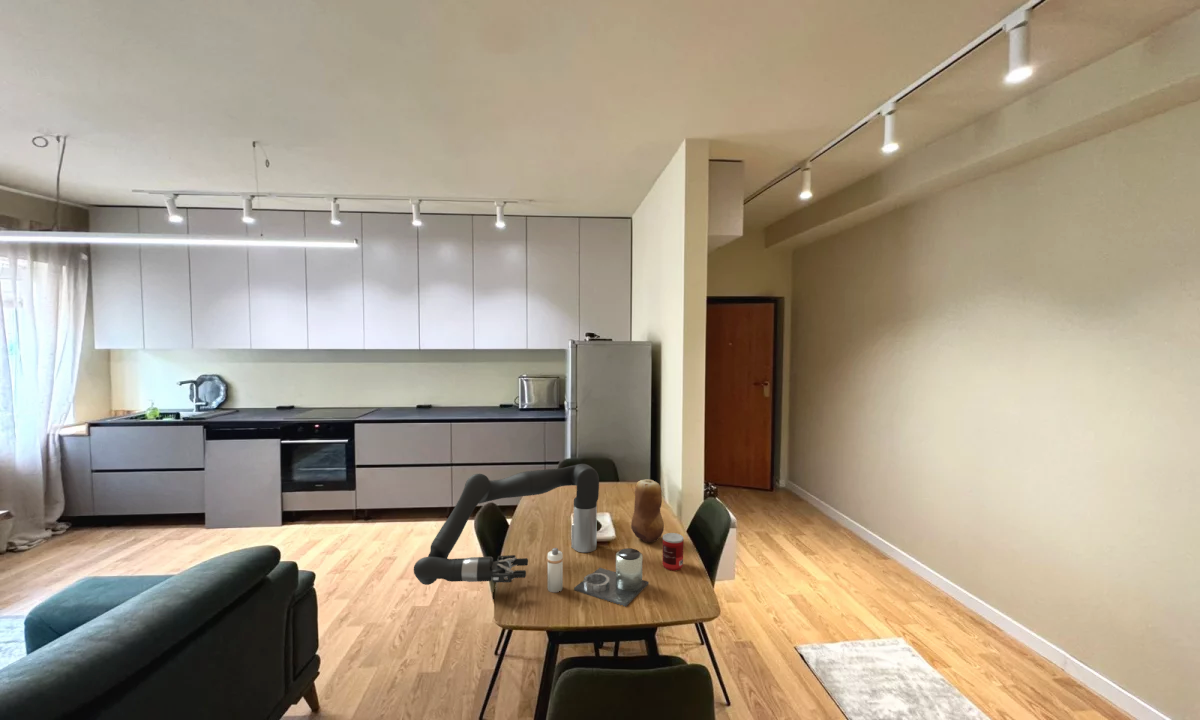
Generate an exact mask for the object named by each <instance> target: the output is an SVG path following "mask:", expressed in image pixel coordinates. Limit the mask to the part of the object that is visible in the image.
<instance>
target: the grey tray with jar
mask: <svg viewBox="0 0 1200 720" xmlns="http://www.w3.org/2000/svg"><path fill="white" fill-rule="evenodd" d="M643 558H644V557H643V553H641V552H640V551H639V549H635V548H622V549H620V550H618V551H617V552H616V553H615V571H614V570H609V569H606V568H602V567H598V568H597V569H596V570H595V571H593V572H592V573H589V574H586V576H584V577H583V580H582V581H581V582H579V583H578V584H577V585H575V586H574V587H573V590H574V591H577V592H579V593H582V594H584V595H587V596H591V597H594V598H597V599H600V600H603V599H604V601H606V600H607V601H606V602H609V601H610V602H609V603H612V602H613V603H612V604H615V603H616V605H618V604H620V605H619V606H621V605H623V606H622V607H624V606H625V608H626V607H627V606H628V605H629V604H630V603H631V602H632V601H633V600H634V599H635V598H637V596H638V595H639V594H640V593H641V592H642V591H643V590H644V589H646V587H647V586H648V585H649V583H650V582H649V581H648V580H644V579H643Z"/></svg>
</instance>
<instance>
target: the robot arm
mask: <svg viewBox="0 0 1200 720" xmlns="http://www.w3.org/2000/svg"><path fill="white" fill-rule="evenodd" d="M599 477H600V476H599V474H598V472H597V470H596V469H595V468H593V467H592V466H591V465H589V464H586V463H577V464H574V465H570V466H566V467H560V468H545V469H537V470H536V469H535V470H526V471H522V472H519V473H516V474H512V475H510V476H507V477H505V478H500V479H492V480H490V479H489V477H488V476H487V475H485V474H483V473H475V474H473V475H470V476H469V478H467V480H466V481H465V483H464V487H463V490H462V493H461V495H460V497H459V499H458V501H457V503H456V504H455V506H454V508H453V510H452V511H451V513H450V514H449V516H448V517H447V519H446V520H445V522H444V523H443V525H442V526H441V528H440V529H439V531H438V532H437V534H436V536H435V537H434V538H433V540H432V542H431V544H430V551H429V554H428V556H424V557H422V558H420V559H418V560H417V561H416V562H415V564H414V567H413V574H414V576H415V577H416V579H417V580H418V581H419V582H420V583H421V584H422V585H424V586H425V585H426V586H428V585H432V584H434V583H435V582H436V581H437V580H445V581H447V582H455V583H456V582H466V583H467V582H468V583H472V582H473V583H476V582H477V583H479V582H482V583H483V582H491V581H492V583H511V582H512V581H513V580H514V579H525V578H526V577H527V571H526V570H525V569H522V570H519V569H518V570H513V569H512V568H513V567H517V566H518V567H520V566H525V567H526V566H528V564H529V559H528V557H526V558H525V557H524V558H523V557H522V558H520V557H519V558H517V557H516V555H515V554H512V555H511V554H509V555H508V554H507V555H498V556H497V560H494V557H492V556H478V557H477V556H472V557H466V558H449V555H450V553H451V552H452V550H454V549H453V548H454V547H455V545H456V544H457V542H458V540H459V539H460V537H461V535H462V534H463V531H464V529H465V526H466V525H467V523H468V520H469V519H470V517H471V515H472V514H473V512H474V510H475V508H476V507H477V506H478V505H480V504H482V503H487V502H491V501H495V500H500V499H510V498H519V497H520V498H521V497H529V496H530V497H531V496H537V495H542V494H546V493H548V492H551V491H553V490H555V489H557V488H560V487H568V486H576V495H575V497H574V499H573V522H572V524H571V532H570V533H571V537H570V538H571V548H572V549H573V550H574V551H576V552H579V553H590V552H594V551H595V550H596V549H597V531H598V530H597V523H598V522H597V519H598V517H597V516H598V515H597V514H598V512H597V511H598V510H597V509H598V505H597V504H598V500H599V496H600V495H599V493H600V491H599V490H600V478H599Z"/></svg>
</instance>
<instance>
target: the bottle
mask: <svg viewBox="0 0 1200 720" xmlns="http://www.w3.org/2000/svg"><path fill="white" fill-rule="evenodd" d="M546 561H547V591H548V592H550V593H559V591H560V592H561V591H562V590H563V588H564V587H563V586H564V585H563V580H564V579H563V575H564V574H563V568H564V567H563V565H564V564H563V561H564V557H563V552H562V551H561V550H559V549H558V548H557V547H554V548H552V549H551V550H550V551H548V552H547V558H546Z"/></svg>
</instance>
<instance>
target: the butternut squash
mask: <svg viewBox="0 0 1200 720" xmlns="http://www.w3.org/2000/svg"><path fill="white" fill-rule="evenodd" d="M662 494H663V492H662V487H661V485H660V483H658V482H657V481H656V480H655V481H654V480H653V479H648V478H647V479H641V480H639V481H637V482H636V485H635V488H634V506H633V507H634V509H633V513H632V518H631V522H630V523H631V525H630V528H631V530H632V532H633V534H634V535H635V537H637V538H638V539H640V540H642V541H643V542H644V543H649V544H650V543H653V542H656V541H658V540H659V539H660V538H661V536H663V533H664V530H665V529H664V528H665V523H664V519H663V516H662V513H661V507H662V503H663V496H662Z"/></svg>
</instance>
